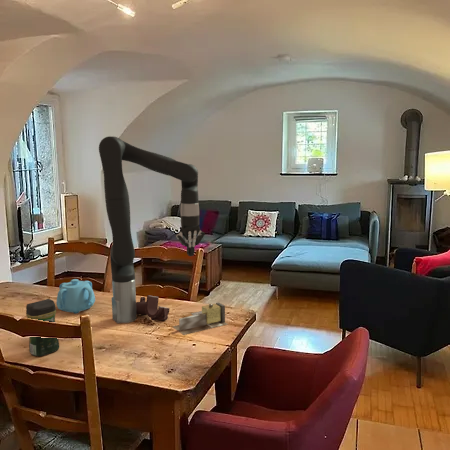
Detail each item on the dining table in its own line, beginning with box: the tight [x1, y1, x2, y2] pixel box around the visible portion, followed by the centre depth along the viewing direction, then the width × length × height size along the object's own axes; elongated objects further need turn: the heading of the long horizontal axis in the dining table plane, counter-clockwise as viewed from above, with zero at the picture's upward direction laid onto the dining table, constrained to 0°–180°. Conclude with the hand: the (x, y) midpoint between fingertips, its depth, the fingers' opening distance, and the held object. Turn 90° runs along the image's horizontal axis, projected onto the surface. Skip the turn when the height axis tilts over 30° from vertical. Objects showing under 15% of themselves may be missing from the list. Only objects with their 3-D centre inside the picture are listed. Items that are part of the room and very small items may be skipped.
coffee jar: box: [25, 298, 60, 357], centre depth 162 cm, size 10×8×19 cm
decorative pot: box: [55, 278, 96, 314], centre depth 205 cm, size 16×16×14 cm
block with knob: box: [201, 303, 220, 324], centre depth 185 cm, size 6×4×7 cm
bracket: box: [136, 294, 170, 321], centre depth 194 cm, size 6×17×10 cm, turn 57°
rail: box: [172, 301, 229, 336], centre depth 183 cm, size 20×10×8 cm, turn 122°
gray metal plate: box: [190, 310, 202, 316], centre depth 197 cm, size 8×6×1 cm
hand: (190, 255), depth 190 cm, fingers closed
